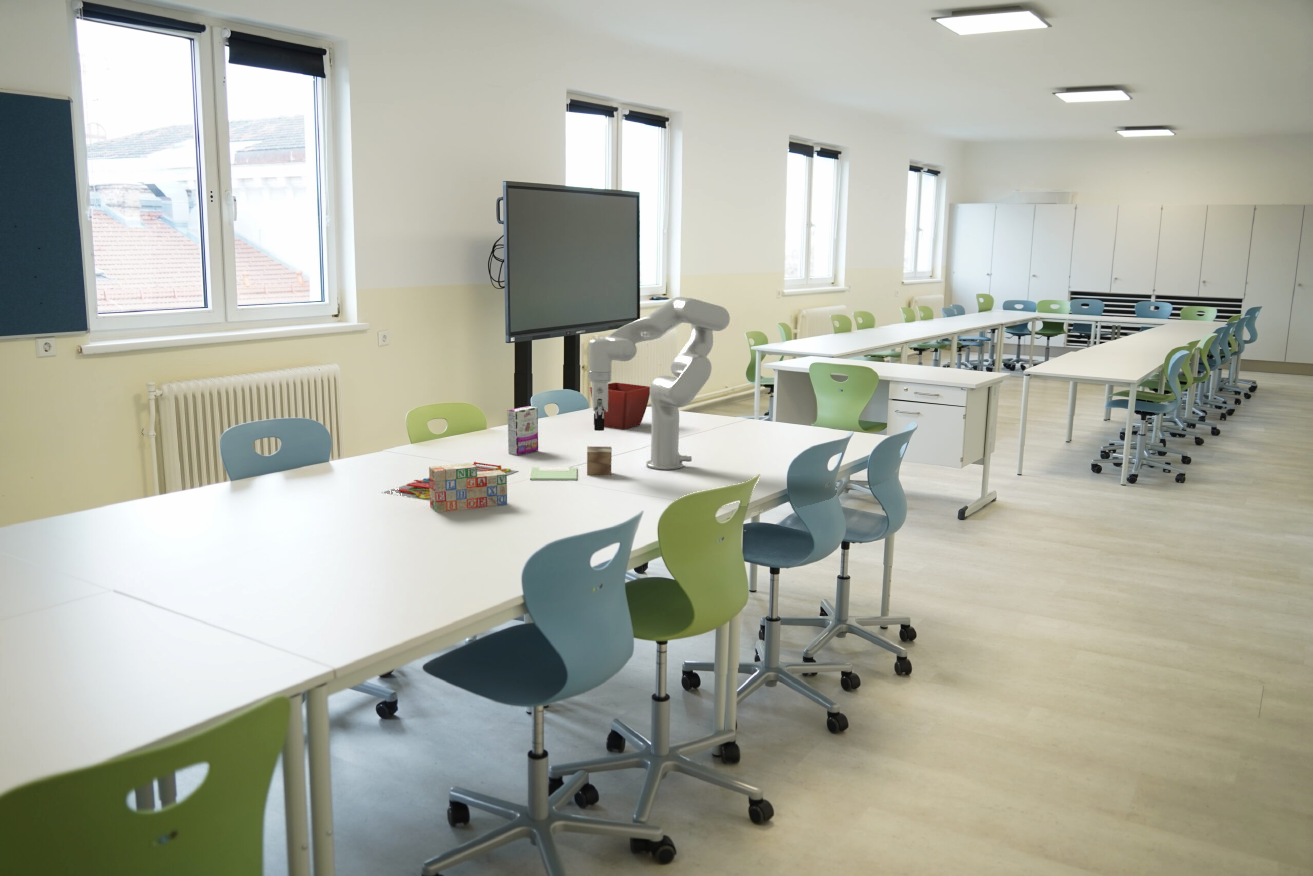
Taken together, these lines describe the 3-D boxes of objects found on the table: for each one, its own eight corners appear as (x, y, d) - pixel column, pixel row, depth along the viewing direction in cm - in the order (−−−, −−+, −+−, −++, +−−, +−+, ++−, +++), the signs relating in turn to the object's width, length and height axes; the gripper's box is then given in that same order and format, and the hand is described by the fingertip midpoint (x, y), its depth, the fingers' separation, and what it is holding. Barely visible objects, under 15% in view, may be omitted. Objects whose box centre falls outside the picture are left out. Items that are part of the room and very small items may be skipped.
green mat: (576, 469, 335) (576, 467, 335) (576, 480, 320) (576, 478, 320) (532, 469, 334) (532, 467, 334) (530, 480, 318) (530, 477, 318)
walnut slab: (610, 472, 331) (611, 446, 330) (611, 475, 327) (611, 449, 326) (586, 472, 331) (587, 446, 329) (587, 475, 327) (587, 448, 325)
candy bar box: (528, 449, 366) (528, 405, 363) (538, 451, 363) (538, 407, 360) (507, 453, 357) (506, 409, 354) (517, 455, 354) (516, 410, 351)
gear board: (432, 494, 290) (381, 486, 298) (432, 502, 290) (381, 494, 299) (518, 465, 329) (471, 459, 338) (518, 472, 330) (471, 466, 338)
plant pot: (625, 432, 404) (626, 391, 401) (588, 426, 414) (588, 387, 411) (651, 425, 420) (652, 386, 417) (614, 420, 430) (615, 382, 427)
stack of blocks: (500, 500, 294) (500, 459, 291) (507, 505, 288) (507, 464, 286) (429, 507, 284) (428, 465, 281) (435, 512, 278) (434, 470, 276)
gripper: (612, 380, 315) (611, 432, 318) (610, 373, 332) (609, 423, 335) (588, 379, 314) (587, 432, 317) (588, 373, 331) (587, 423, 334)
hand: (598, 427), depth 326 cm, fingers open, 9 cm apart
